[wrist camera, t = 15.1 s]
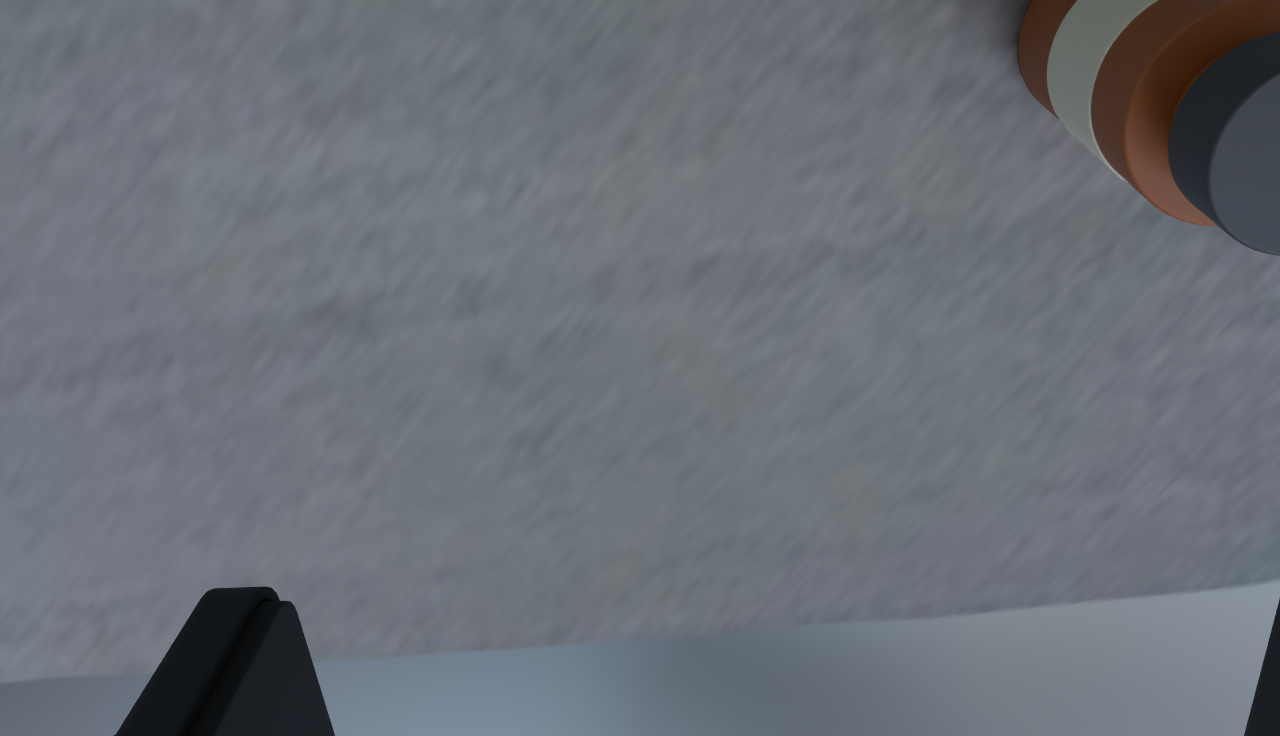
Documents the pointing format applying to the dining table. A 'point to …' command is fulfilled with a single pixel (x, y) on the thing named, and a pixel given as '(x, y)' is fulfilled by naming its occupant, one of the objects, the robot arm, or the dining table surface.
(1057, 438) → the dining table surface
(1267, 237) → the spice bottle
